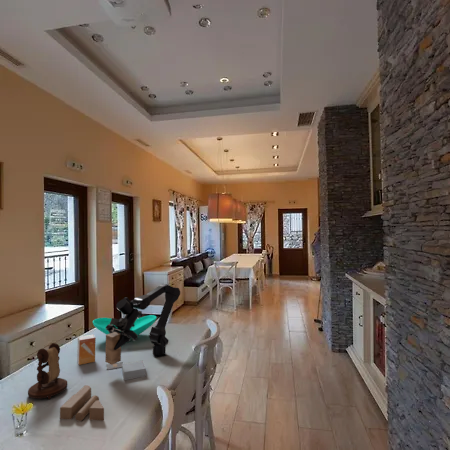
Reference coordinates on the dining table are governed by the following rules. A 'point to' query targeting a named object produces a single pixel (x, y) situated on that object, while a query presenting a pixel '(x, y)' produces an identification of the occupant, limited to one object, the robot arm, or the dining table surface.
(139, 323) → the table top decor
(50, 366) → the scroll
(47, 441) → the dining table surface
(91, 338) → the small box
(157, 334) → the robot arm
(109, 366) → the card
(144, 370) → the slate block
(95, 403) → the wooden block set
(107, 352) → the walnut column
